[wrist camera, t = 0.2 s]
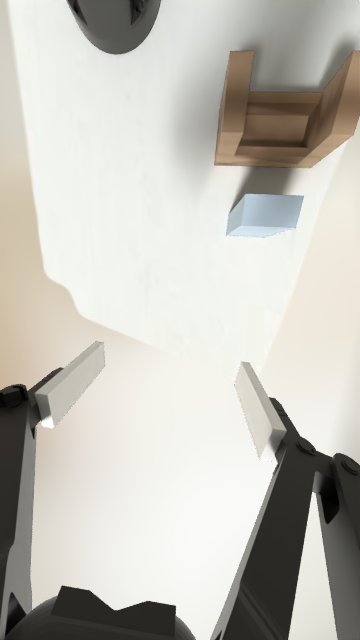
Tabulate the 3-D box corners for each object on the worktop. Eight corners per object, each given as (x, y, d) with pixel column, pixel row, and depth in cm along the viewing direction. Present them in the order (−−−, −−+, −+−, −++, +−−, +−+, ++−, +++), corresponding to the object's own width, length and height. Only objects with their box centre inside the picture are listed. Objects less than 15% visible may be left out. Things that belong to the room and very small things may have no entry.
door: (228, 214, 35) (245, 193, 24) (267, 216, 35) (304, 195, 23) (226, 235, 36) (240, 225, 25) (263, 237, 36) (295, 228, 25)
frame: (219, 110, 30) (230, 51, 21) (325, 111, 29) (379, 50, 20) (214, 165, 32) (221, 132, 24) (310, 167, 32) (353, 134, 23)
